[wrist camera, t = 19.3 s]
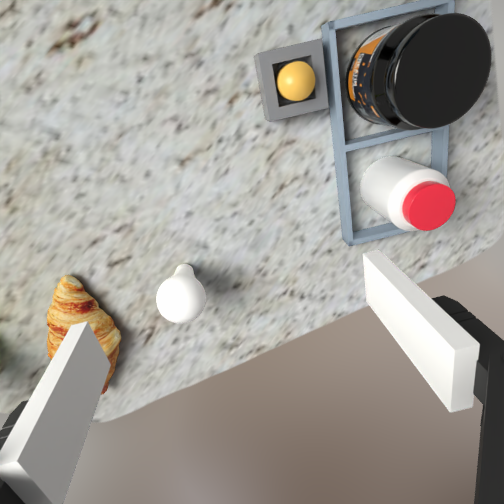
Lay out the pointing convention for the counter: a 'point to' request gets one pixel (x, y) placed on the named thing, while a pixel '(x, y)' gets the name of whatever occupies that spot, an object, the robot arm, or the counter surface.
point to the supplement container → (419, 71)
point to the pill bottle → (407, 193)
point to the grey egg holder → (271, 64)
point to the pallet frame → (439, 153)
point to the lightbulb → (181, 296)
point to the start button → (295, 81)
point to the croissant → (80, 320)
